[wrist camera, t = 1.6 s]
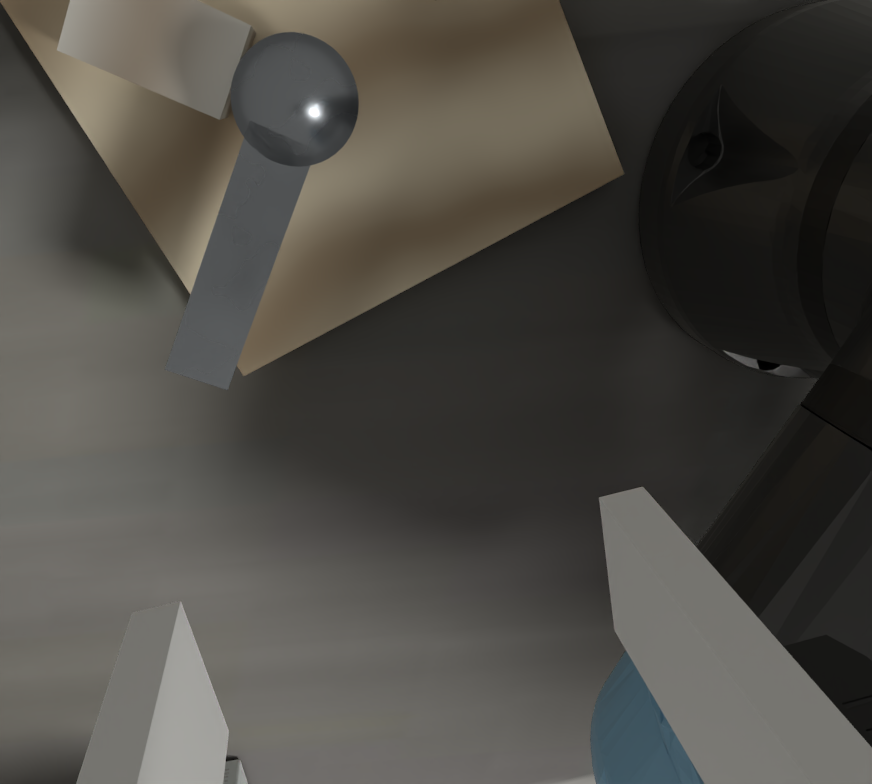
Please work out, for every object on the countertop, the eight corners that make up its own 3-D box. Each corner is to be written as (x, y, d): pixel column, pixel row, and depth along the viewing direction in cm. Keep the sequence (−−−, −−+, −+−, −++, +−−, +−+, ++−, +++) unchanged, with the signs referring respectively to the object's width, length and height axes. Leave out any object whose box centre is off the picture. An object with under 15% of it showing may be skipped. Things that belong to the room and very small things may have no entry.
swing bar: (259, 17, 24) (255, 8, 21) (370, 69, 25) (377, 66, 22) (152, 337, 27) (138, 361, 24) (255, 372, 28) (251, 398, 25)
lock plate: (610, 170, 32) (695, 191, 25) (246, 364, 32) (231, 437, 26) (452, -241, 26) (506, -361, 19) (12, 1, 27) (-89, -32, 20)
